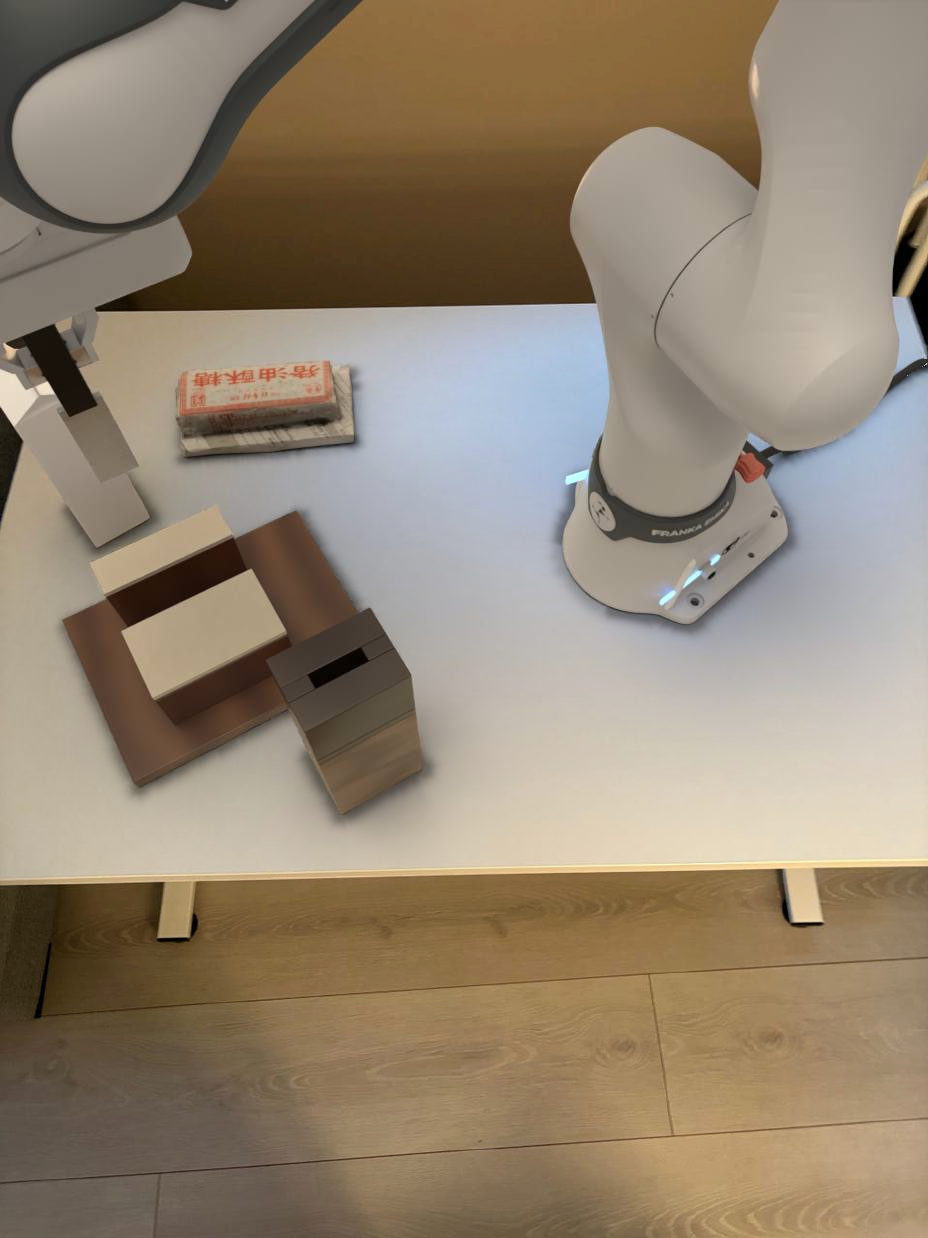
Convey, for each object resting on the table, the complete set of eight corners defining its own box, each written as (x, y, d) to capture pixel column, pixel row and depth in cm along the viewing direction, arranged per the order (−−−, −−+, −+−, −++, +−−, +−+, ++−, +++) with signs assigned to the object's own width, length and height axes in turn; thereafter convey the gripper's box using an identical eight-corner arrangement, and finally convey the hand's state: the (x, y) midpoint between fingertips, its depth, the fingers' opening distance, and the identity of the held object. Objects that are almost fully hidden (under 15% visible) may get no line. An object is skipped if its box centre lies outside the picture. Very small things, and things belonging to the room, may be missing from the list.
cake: (265, 603, 86) (251, 568, 80) (298, 662, 83) (286, 630, 77) (144, 662, 83) (120, 631, 77) (174, 726, 80) (152, 698, 74)
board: (298, 517, 92) (296, 509, 90) (383, 659, 85) (382, 653, 83) (67, 626, 86) (61, 619, 85) (138, 787, 79) (133, 782, 78)
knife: (133, 454, 68) (46, 290, 54) (143, 473, 68) (57, 312, 53) (95, 471, 68) (-4, 309, 53) (105, 491, 67) (7, 331, 53)
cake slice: (231, 542, 89) (216, 504, 83) (247, 570, 87) (232, 534, 81) (113, 597, 86) (88, 562, 80) (128, 627, 84) (103, 594, 79)
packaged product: (169, 431, 90) (171, 354, 95) (182, 461, 95) (184, 386, 99) (351, 414, 91) (345, 339, 96) (356, 444, 96) (350, 371, 100)
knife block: (390, 713, 82) (370, 606, 64) (422, 769, 80) (412, 675, 61) (310, 757, 81) (265, 659, 62) (341, 815, 78) (304, 732, 60)
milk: (97, 549, 90) (-6, 402, 70) (69, 507, 92) (-39, 353, 72) (152, 517, 92) (67, 365, 72) (124, 477, 94) (33, 318, 74)
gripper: (124, 74, 49) (193, 276, 61) (-276, 209, 44) (-115, 398, 57) (170, 141, 46) (231, 337, 59) (-249, 291, 42) (-86, 470, 54)
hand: (59, 368), depth 58 cm, fingers closed on knife, 2 cm apart
